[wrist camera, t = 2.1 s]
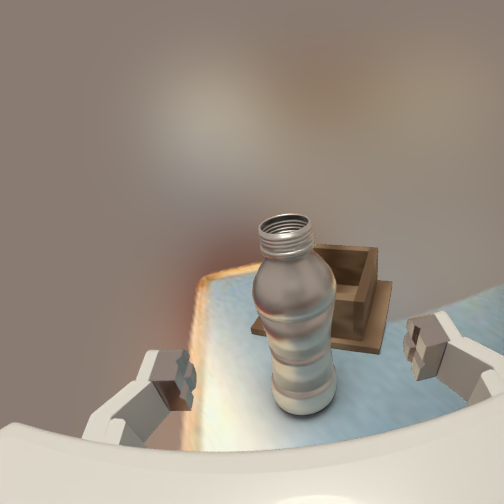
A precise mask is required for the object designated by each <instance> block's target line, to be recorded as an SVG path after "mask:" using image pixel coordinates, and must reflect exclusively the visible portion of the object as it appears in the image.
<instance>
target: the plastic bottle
mask: <svg viewBox="0 0 504 504" xmlns="http://www.w3.org/2000/svg"><path fill="white" fill-rule="evenodd" d="M258 232H259V236H260V242H261V243H260V249H261V252H262V254H263V255H264V256H266V257H265V259H264V260H263V262H262V264H261V265H260V267H259V269H258V272H257V274H256V276H255V278H254V281H253V289H252V297H253V300H254V304H255V307H256V309H257V312H258V314H259V317H260V319H261V322H262V324H263V327H264V329H265V332H266V335H267V339H268V343H269V347H270V350H271V357H272V371H273V372H272V378H271V386H272V394H273V396H274V398H275V400H276V402H277V403H278V405H279V406H280V407H281V408H282V409H283V410H285V411H286V412H289V413H291V414H296V415H308V414H312V413H316V412H318V411H320V410H322V409H323V408H325V407H326V406H327V405H328V404H329V403H330V402H331V400H332V398H333V396H334V393H335V390H336V387H337V377H336V371H335V367H334V364H333V360H332V352H331V324H332V317H333V310H334V304H335V297H336V280H335V277H334V274H333V272H332V269H331V268H330V266H329V265H328V264H327V263H326V262H325V261H324V260H323V258H322V257H321V256H320V255H318V254H317V253H316V252H315V251H314V250H313V248H314V246H315V238H314V235H313V233H312V224H311V221H310V218H309V217H307V216H305V215H301V214H282V215H277V216H274V217H271V218H268V219H266V220H264V221H263V222H262V223H260V225H259V226H258Z"/></svg>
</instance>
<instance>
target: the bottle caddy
mask: <svg viewBox="0 0 504 504" xmlns="http://www.w3.org/2000/svg"><path fill="white" fill-rule="evenodd" d="M313 250H314V251H315V252H316V253H317V254H318V255H320V256H321V257H322V258H323V260H324V261H325V262H326V263H327V264H328V265H329V266H330V268H331V269H332V272H333V274H334V277H335V280H336V297H335V304H334V310H333V317H332V324H331V348H336V349H343V350H350V351H357V352H365V353H372V354H379V353H380V348H381V344H382V339H383V334H384V329H385V324H386V318H387V313H388V308H389V302H390V296H391V290H392V282H391V281H380V280H377V272H378V248H373V247H358V246H342V245H326V244H315V246H314V248H313ZM251 332H252V334H256V335H261V336H267V335H266V332H265V329H264V327H263V324H262V322H261V319H260V317H258V318H257V320H256V321H255V323H254V324H253V325H252V327H251Z"/></svg>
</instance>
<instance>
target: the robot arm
mask: <svg viewBox="0 0 504 504" xmlns="http://www.w3.org/2000/svg"><path fill="white" fill-rule="evenodd" d="M406 329H407V331H408V332H407V334H406V335H405V336H404V342H403V346H404V353H405V356H406V358H407V360H408V361H410V362H411V363H412V366H411V370H412V372H413V374H414V377H415V379H416V381H420V380H424V379H428V378H432V377H436V376H437V377H436V378H438V379H439V380H440V381H441V382H443V383H444V384H445V385H447V386H448V387H449V388H450V389H452V390H453V391H454V392H456V393H457V394H458V395H459V396H461V397H462V398H463V399H465V400H466V401H467V404H466V406H465V408H463V409H460V410H458V411H455V412H452V413H449V414H446V415H443V416H440V417H437V418H434V419H431V420H428V421H424V422H421V423H418V424H414V425H411V426H407V427H403V428H400V429H396V430H392V431H388V432H384V433H379V434H375V435H371V436H366V437H361V438H356V439H351V440H345V441H340V442H334V443H327V444H320V445H313V446H305V447H296V448H287V449H275V450H261V451H238V452H196V451H174V450H160V449H148V448H147V446H146V445H145V444H144V442H145V441H146V440H147V439H148V438H149V436H150V435H151V434H152V433H153V432H154V431H155V429H156V428H157V427H158V426H159V425H160V423H161V422H162V421H163V420H164V419H165V418H166V417H167V415H168V414H169V413H170V411H191V408H192V403H193V398H194V397H193V395H192V393H191V392H192V391H193V390H194V389H195V388H196V382H197V381H196V371H195V368H194V365H193V364H192V363H190V362H189V357H190V356H189V354H188V352H187V350H185V349H174V350H149V351H147V352H146V354H145V357H144V360H143V362H142V365H141V367H140V370H139V373H138V375H137V378H136V381H132V382H131V383H129V384H128V385H127V386H126V387H124V388H123V389H122V390H121V391H119V392H118V393H117V394H116V395H115V396H113V397H112V398H111V399H110V400H108V401H107V402H106V403H105V404H104V405H102V406H101V407H100V408H99V409H97V410H96V411H95V412H94V413H93V414H91V416H90V419H89V421H88V424H87V426H86V429H85V431H84V434H83V436H82V439H80V438H76V437H71V436H67V435H62V434H58V433H54V432H50V431H46V430H42V429H38V428H35V427H31V426H28V425H25V424H22V423H17V422H14V423H11V424H9V425H7V426H5V427H4V428H2V429H1V430H0V504H504V356H502V355H501V354H499V353H497V352H495V351H493V350H491V349H489V348H487V347H485V346H483V345H481V344H479V343H477V342H475V341H473V340H471V339H469V338H467V337H462V336H461V334H460V333H459V331H458V330H457V328H456V327H455V325H454V324H453V322H452V321H451V319H450V318H449V316H448V315H447V313H446V312H445V311H440V312H436V313H432V314H428V315H424V316H420V317H415V318H411V319H408V321H407V324H406Z"/></svg>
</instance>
